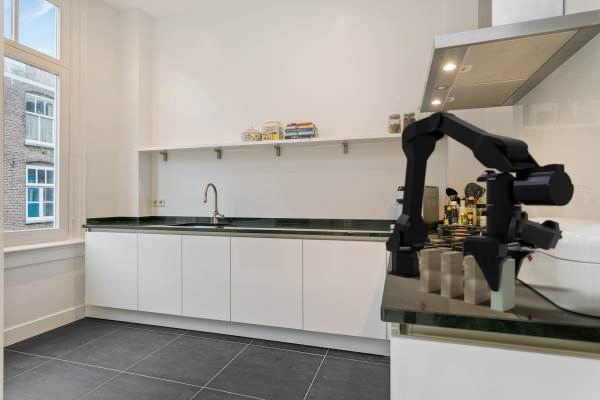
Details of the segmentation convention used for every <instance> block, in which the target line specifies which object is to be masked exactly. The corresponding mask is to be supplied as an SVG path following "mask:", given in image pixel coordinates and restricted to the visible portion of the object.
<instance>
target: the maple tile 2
mask: <svg viewBox="0 0 600 400" xmlns="http://www.w3.org/2000/svg"><path fill="white" fill-rule="evenodd" d="M463 295H464V252H463V251H458V250H457V251H455V250H453V251H446V252H441V289H440V297H444V298H447V299H452V298H456V297H460V296H463Z"/></svg>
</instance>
